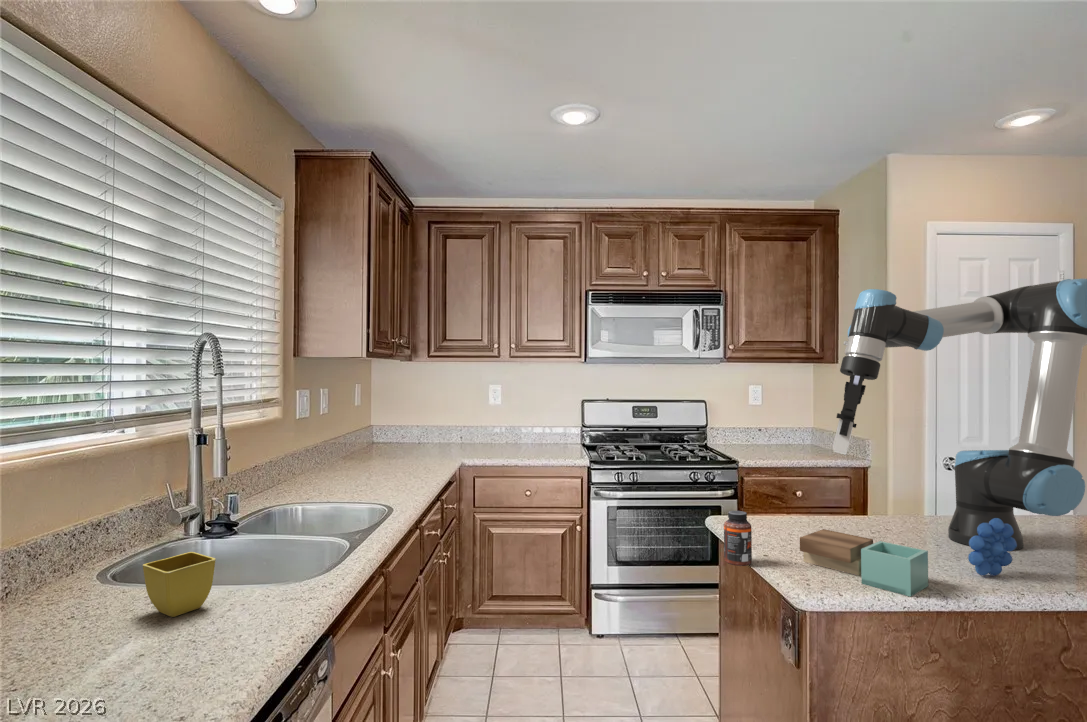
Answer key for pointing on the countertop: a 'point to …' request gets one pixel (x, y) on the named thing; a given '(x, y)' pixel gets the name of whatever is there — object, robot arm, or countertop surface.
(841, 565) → the wooden block
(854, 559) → the lid
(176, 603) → the flower pot
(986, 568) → the grapes
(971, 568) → the countertop surface
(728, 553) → the supplement bottle
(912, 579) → the teal open box
